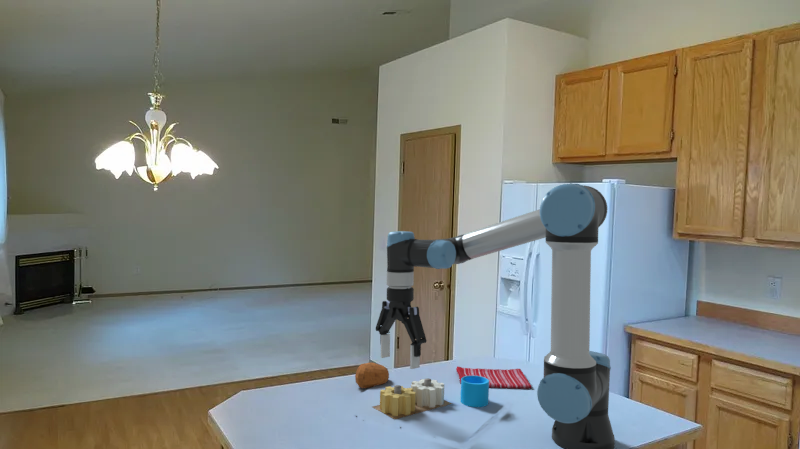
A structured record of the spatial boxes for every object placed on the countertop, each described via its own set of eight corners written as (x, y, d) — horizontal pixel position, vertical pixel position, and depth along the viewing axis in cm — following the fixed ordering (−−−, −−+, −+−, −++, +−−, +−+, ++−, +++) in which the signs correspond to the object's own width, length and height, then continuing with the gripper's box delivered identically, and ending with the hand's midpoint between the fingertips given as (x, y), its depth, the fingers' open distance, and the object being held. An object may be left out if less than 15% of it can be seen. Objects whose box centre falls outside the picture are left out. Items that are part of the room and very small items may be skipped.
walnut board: (452, 408, 160) (453, 381, 160) (394, 424, 148) (395, 395, 147) (427, 397, 169) (428, 371, 169) (371, 411, 156) (372, 384, 156)
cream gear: (449, 399, 163) (450, 383, 163) (434, 410, 155) (435, 392, 155) (420, 393, 168) (420, 377, 168) (404, 403, 160) (404, 386, 160)
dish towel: (455, 372, 197) (455, 365, 197) (522, 374, 196) (522, 367, 196) (458, 388, 180) (459, 380, 180) (531, 391, 179) (532, 383, 179)
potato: (351, 383, 181) (352, 360, 181) (384, 380, 184) (385, 358, 184) (358, 392, 172) (358, 368, 172) (392, 389, 175) (393, 366, 175)
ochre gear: (412, 417, 149) (413, 398, 149) (377, 414, 151) (377, 396, 151) (416, 404, 159) (417, 387, 159) (383, 401, 160) (383, 384, 160)
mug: (490, 412, 158) (491, 384, 158) (462, 412, 158) (462, 384, 158) (483, 398, 170) (484, 371, 170) (457, 397, 170) (458, 371, 170)
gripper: (440, 291, 146) (439, 370, 147) (384, 280, 166) (384, 350, 166) (418, 293, 141) (417, 375, 142) (364, 282, 161) (363, 354, 162)
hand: (399, 362), depth 154 cm, fingers open, 13 cm apart
